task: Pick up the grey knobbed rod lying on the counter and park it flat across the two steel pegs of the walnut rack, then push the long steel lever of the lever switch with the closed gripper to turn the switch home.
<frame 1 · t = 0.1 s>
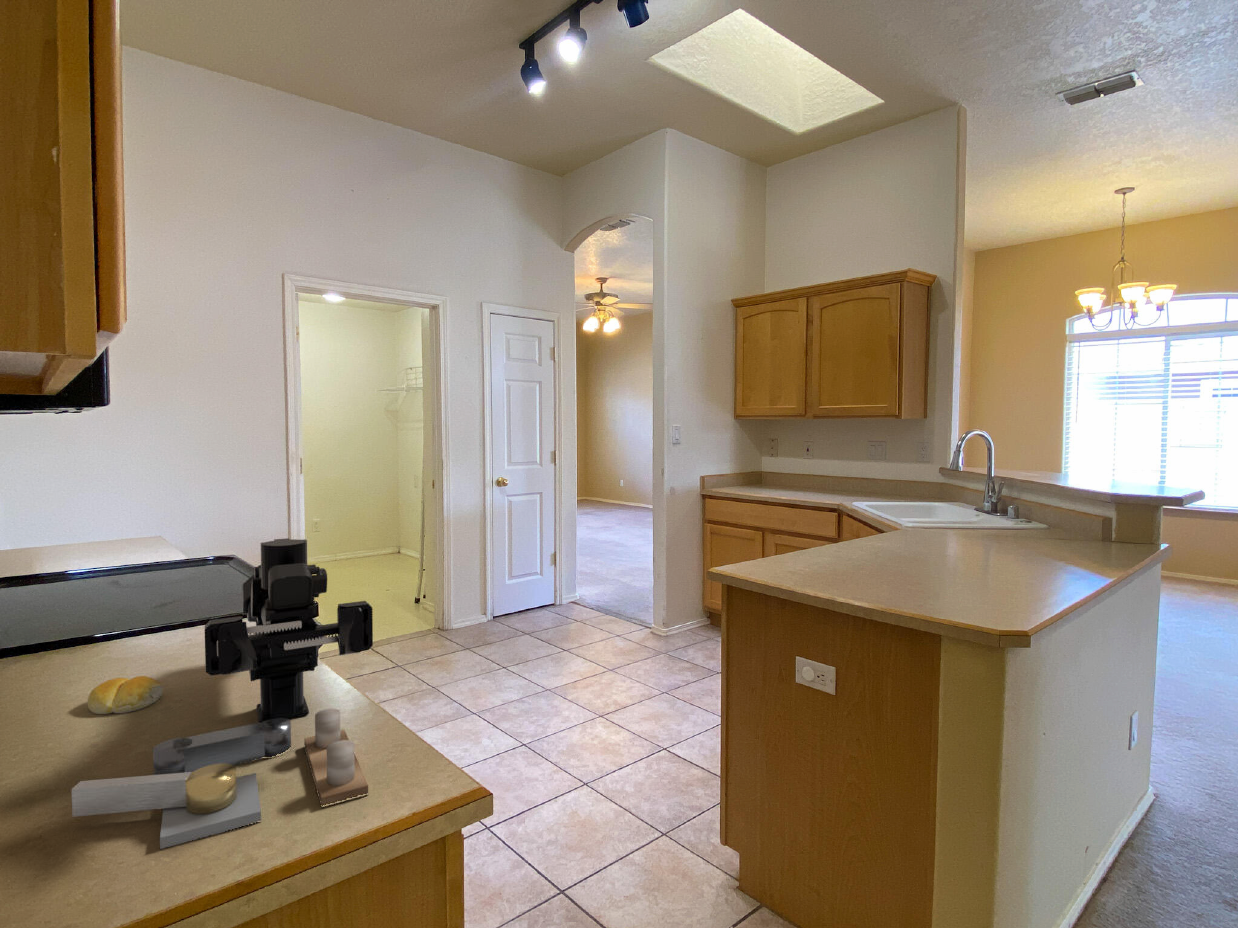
hand: (300, 656, 75), 17 cm above the counter, tool horizontal, fingers open, 9 cm apart
lever switch: (157, 791, 72), point 3 cm above the counter, hinge at 0.0°
bread roll: (126, 705, 100), on the counter
grey knobbed rod: (225, 761, 84), on the counter
peg rack: (334, 769, 82), on the counter
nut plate: (212, 812, 73), on the counter
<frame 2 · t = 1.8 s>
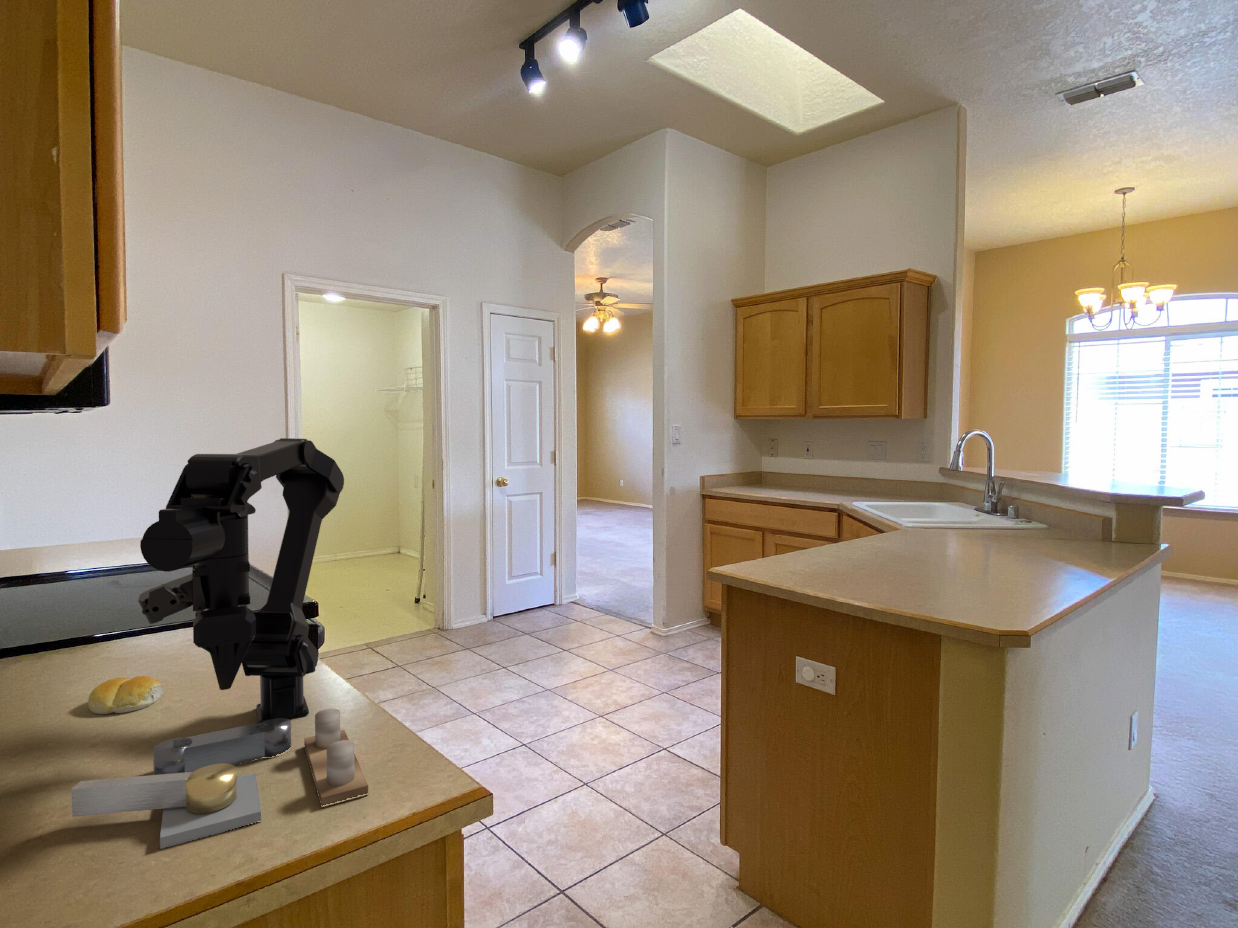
hand: (224, 676, 83), 11 cm above the counter, tool pointing down, fingers open, 9 cm apart
nothing on the counter moved.
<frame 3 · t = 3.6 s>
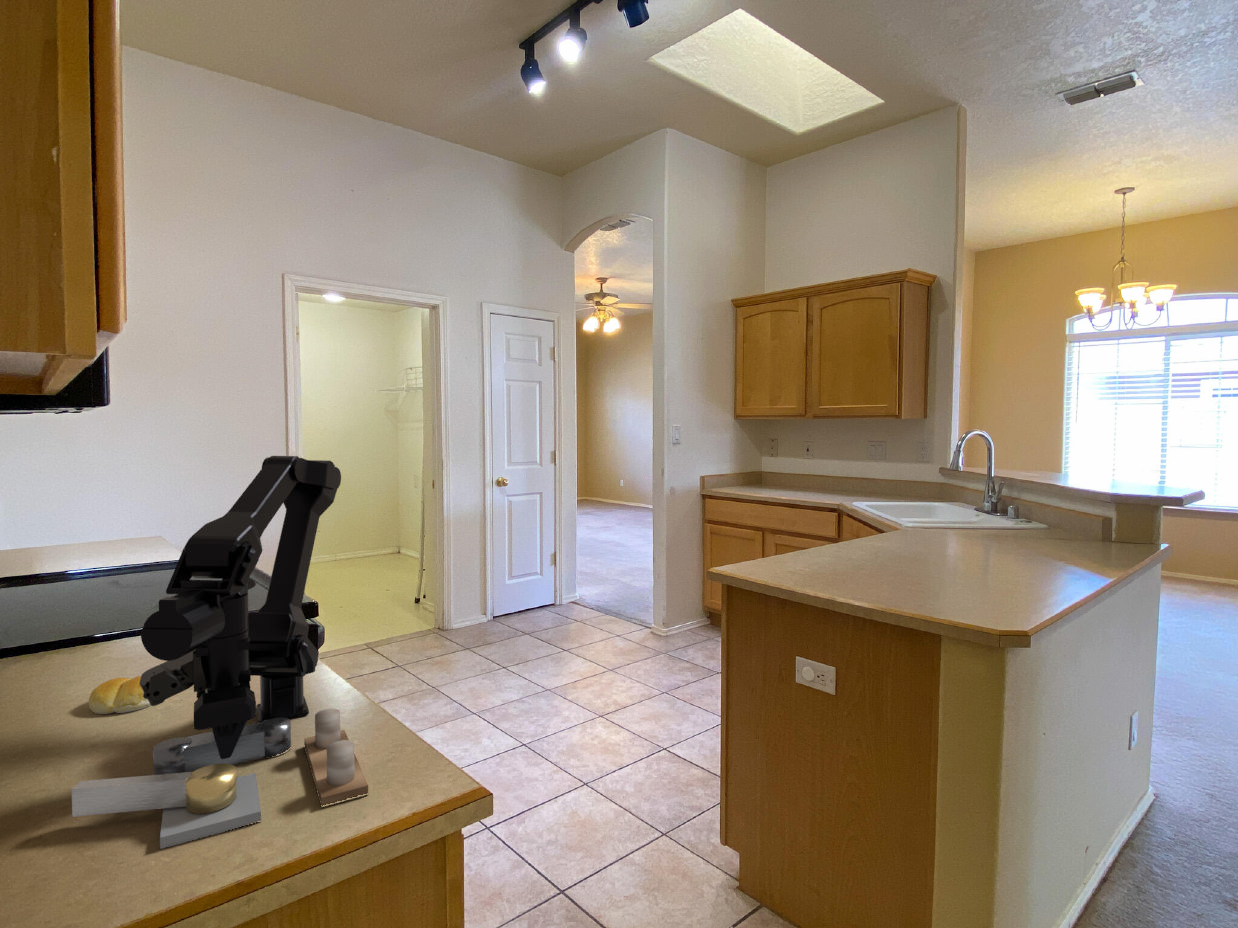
hand: (225, 751, 84), 1 cm above the counter, tool pointing down, fingers closed on grey knobbed rod, 3 cm apart
grey knobbed rod: (225, 760, 84), on the counter, touching gripper
everything else where it was.
when the fingers open (7 cm above the counter, at t = 6.9 s): grey knobbed rod stays where it is, resting on peg rack.
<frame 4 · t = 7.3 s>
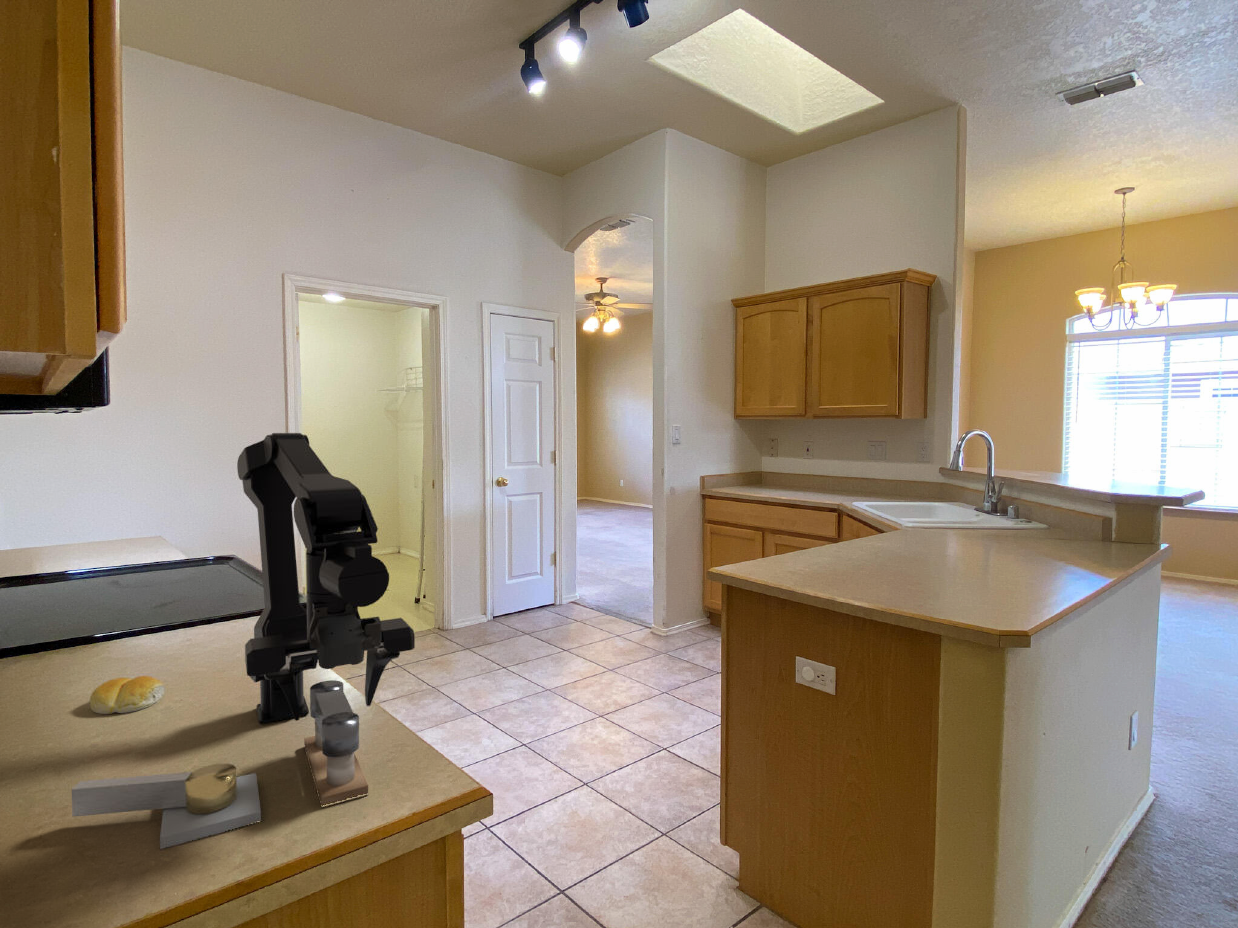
hand: (333, 711, 82), 7 cm above the counter, tool pointing down, fingers open, 8 cm apart
grey knobbed rod: (333, 729, 82), point 5 cm above the counter, touching peg rack
everything else where it was.
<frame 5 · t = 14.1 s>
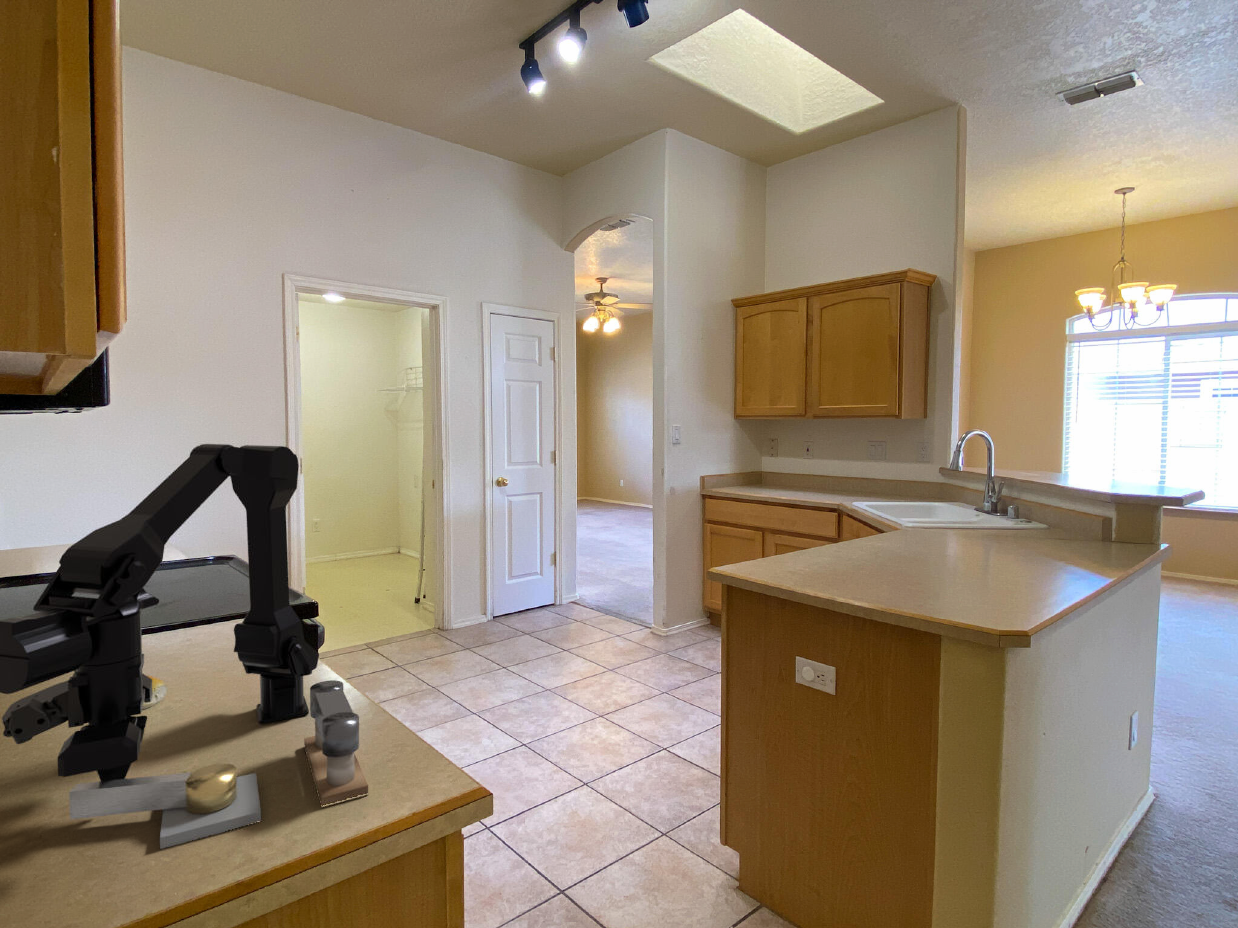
hand: (112, 793, 72), 2 cm above the counter, tool pointing down, fingers closed
lever switch: (156, 792, 71), point 3 cm above the counter, hinge at 2.2°, touching gripper
everything else where it was.
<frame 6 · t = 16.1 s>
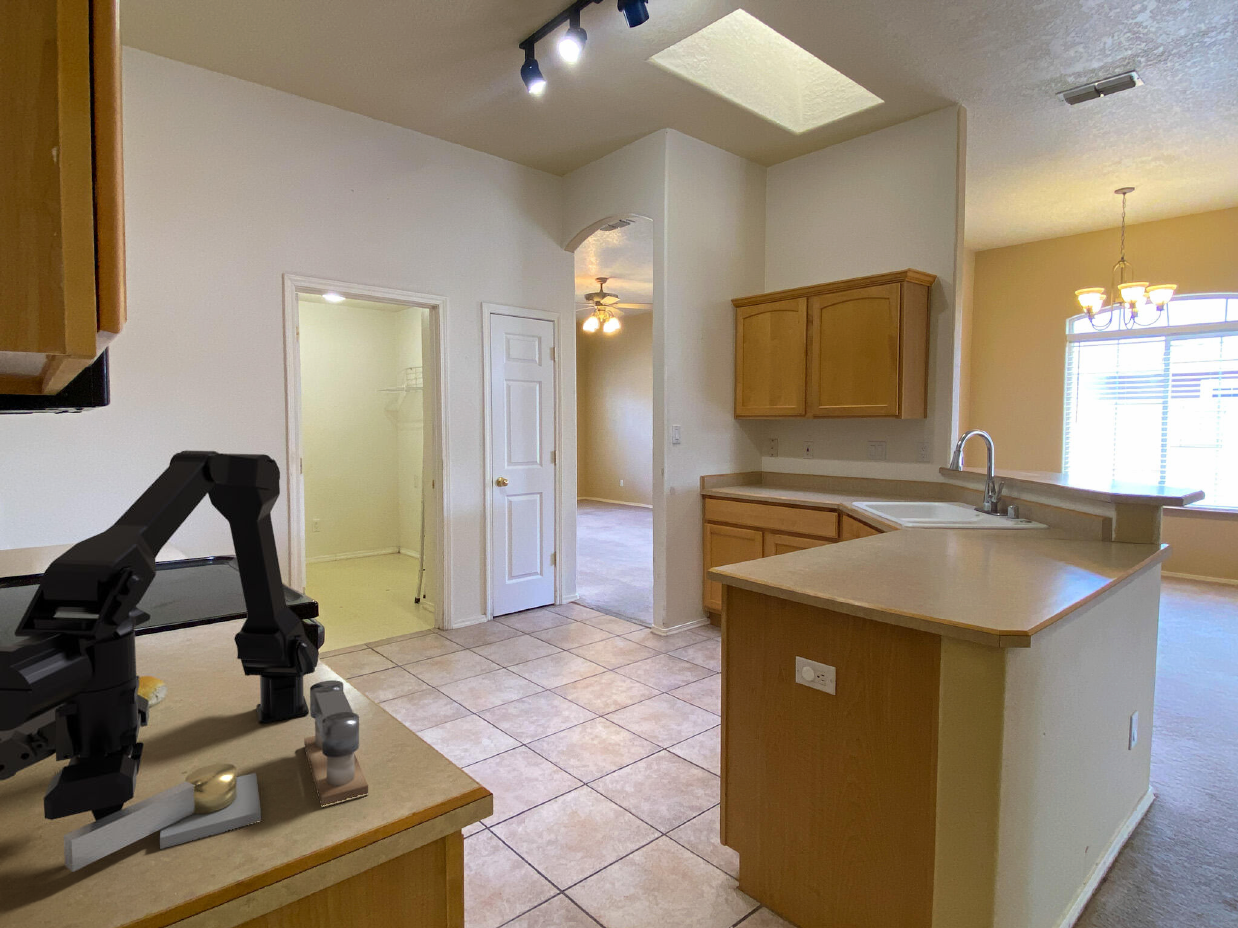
hand: (107, 829, 66), 2 cm above the counter, tool pointing down, fingers closed
lever switch: (158, 811, 68), point 3 cm above the counter, hinge at 48.8°, touching gripper
everything else where it was.
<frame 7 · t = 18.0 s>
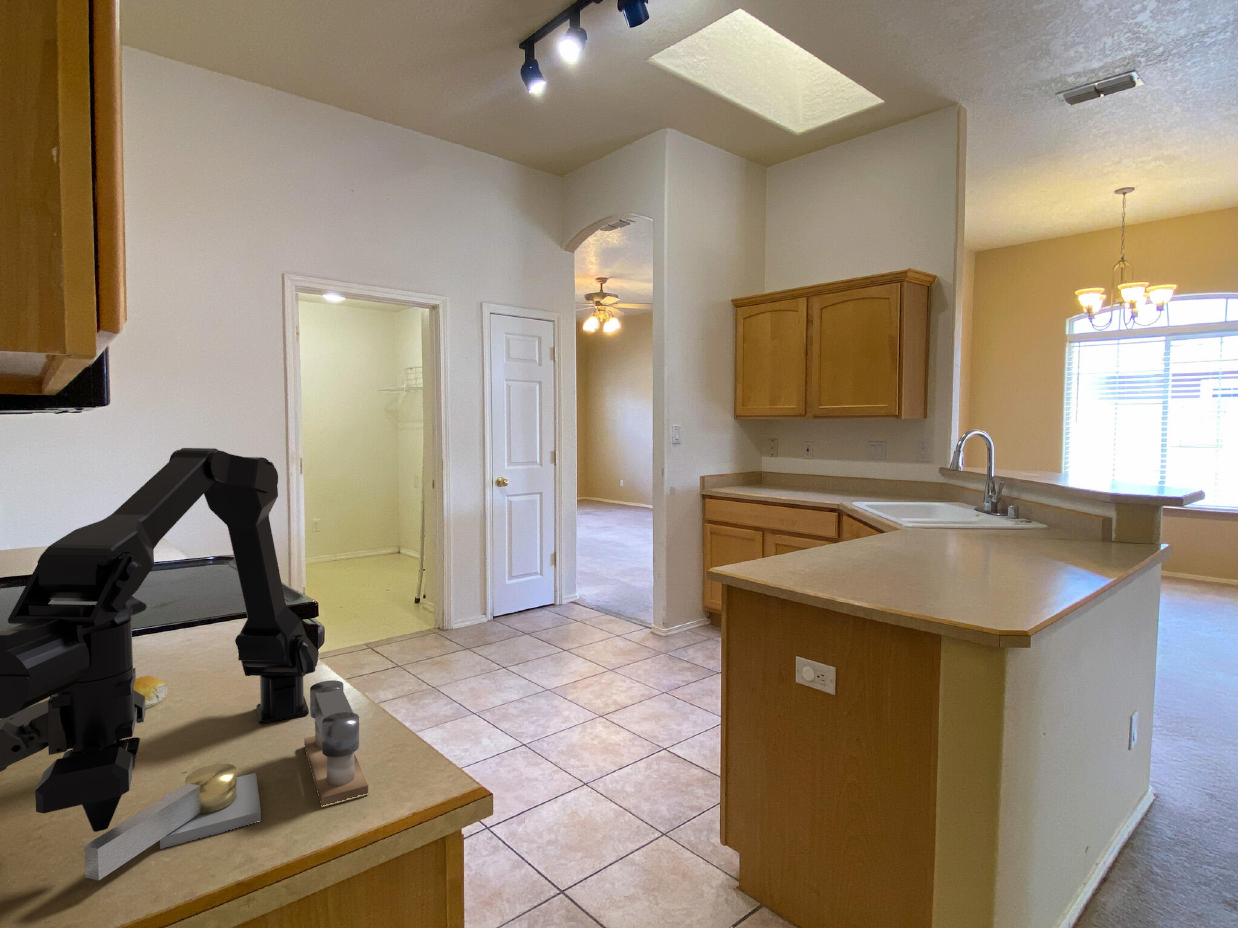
hand: (101, 828, 64), 4 cm above the counter, tool pointing down, fingers closed
lever switch: (168, 814, 68), point 3 cm above the counter, hinge at 64.0°
everything else where it was.
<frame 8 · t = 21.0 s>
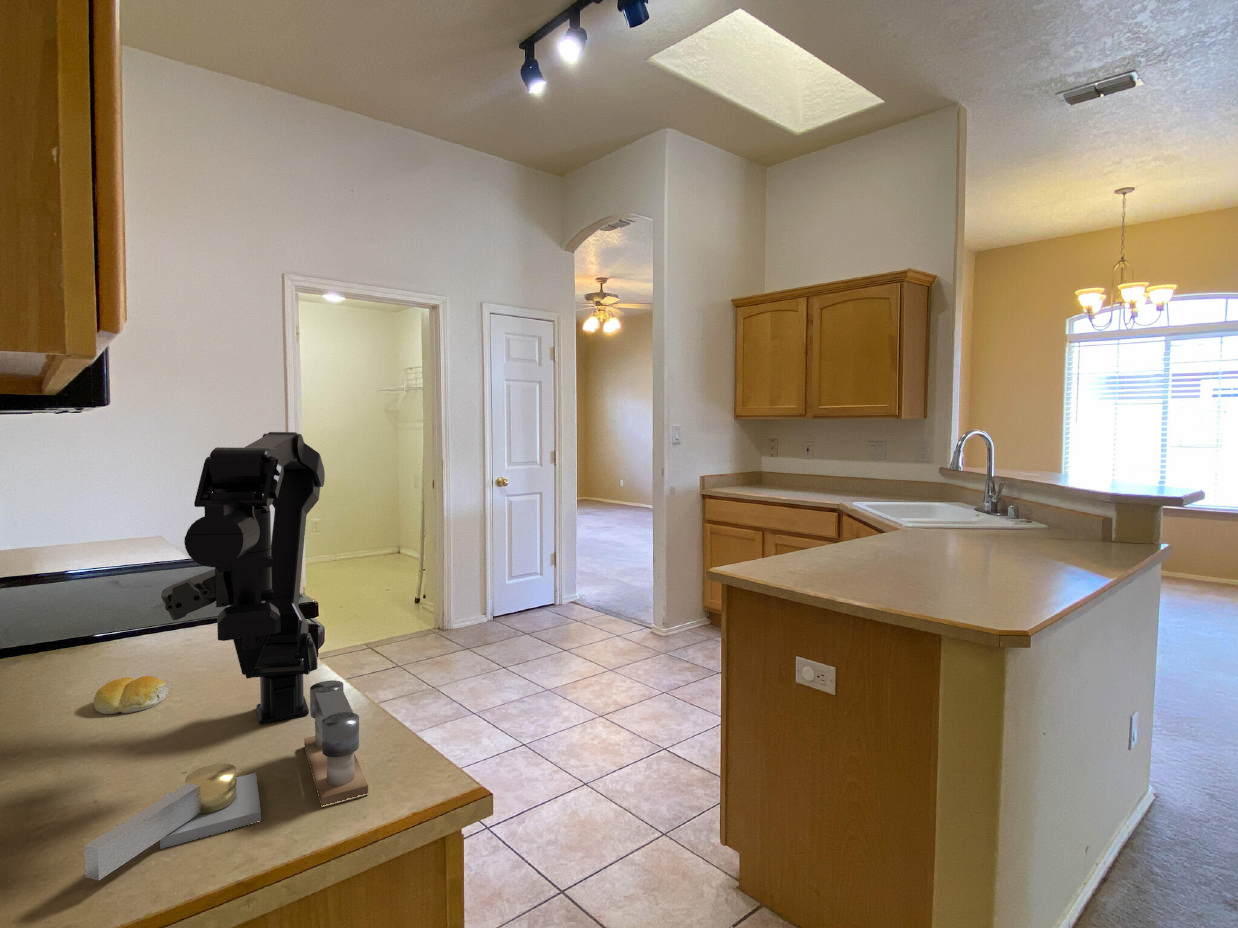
hand: (247, 673, 82), 12 cm above the counter, tool pointing down, fingers closed
nothing on the counter moved.
at the end: grey knobbed rod 0.0 cm off-centre on the peg rack, point 5.2 cm above the peg rack's base; grey knobbed rod tilted 0°; lever switch at +64° (first picture: +0°) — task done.
